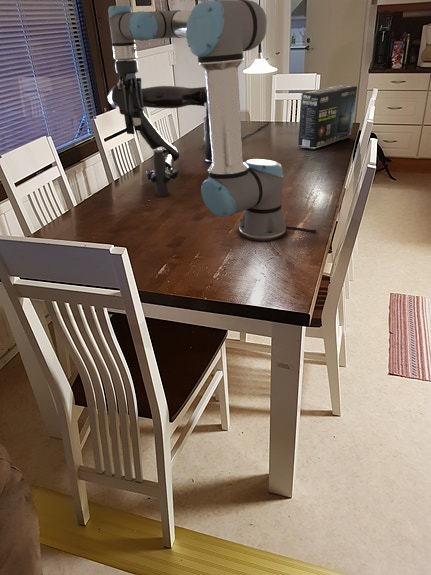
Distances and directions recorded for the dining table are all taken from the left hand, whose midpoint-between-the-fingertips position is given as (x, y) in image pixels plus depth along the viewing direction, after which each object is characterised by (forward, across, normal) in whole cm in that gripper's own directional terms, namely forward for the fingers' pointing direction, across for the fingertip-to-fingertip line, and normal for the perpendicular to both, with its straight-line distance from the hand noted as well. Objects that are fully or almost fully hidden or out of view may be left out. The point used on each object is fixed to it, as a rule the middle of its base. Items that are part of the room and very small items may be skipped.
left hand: (160, 180), depth 179 cm
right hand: (+5, -7, -20) cm, 21 cm away
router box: (-74, +80, +7) cm, 110 cm away
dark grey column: (-3, 0, +7) cm, 7 cm away
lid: (+5, -7, -24) cm, 25 cm away
